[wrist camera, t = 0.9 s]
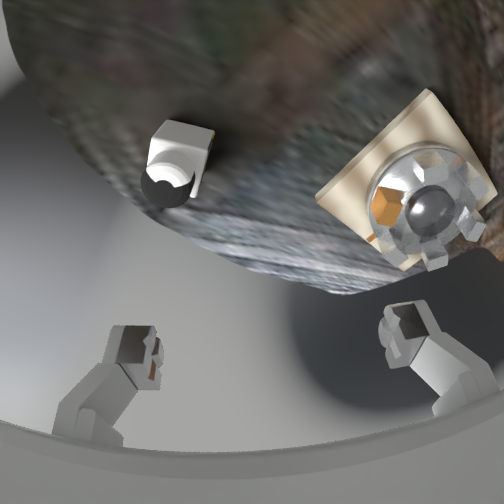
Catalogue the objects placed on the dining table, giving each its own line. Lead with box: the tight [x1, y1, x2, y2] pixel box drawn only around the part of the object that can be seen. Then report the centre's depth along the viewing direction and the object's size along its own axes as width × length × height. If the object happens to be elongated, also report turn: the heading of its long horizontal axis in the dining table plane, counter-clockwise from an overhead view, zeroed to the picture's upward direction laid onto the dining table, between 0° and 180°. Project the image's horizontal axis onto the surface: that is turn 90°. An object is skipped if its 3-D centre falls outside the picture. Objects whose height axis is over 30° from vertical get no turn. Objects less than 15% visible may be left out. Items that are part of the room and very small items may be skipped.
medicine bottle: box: [141, 120, 215, 208], centre depth 38 cm, size 7×7×12 cm
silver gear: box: [365, 141, 490, 271], centre depth 41 cm, size 19×19×7 cm
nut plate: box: [315, 89, 498, 271], centre depth 45 cm, size 24×24×2 cm
